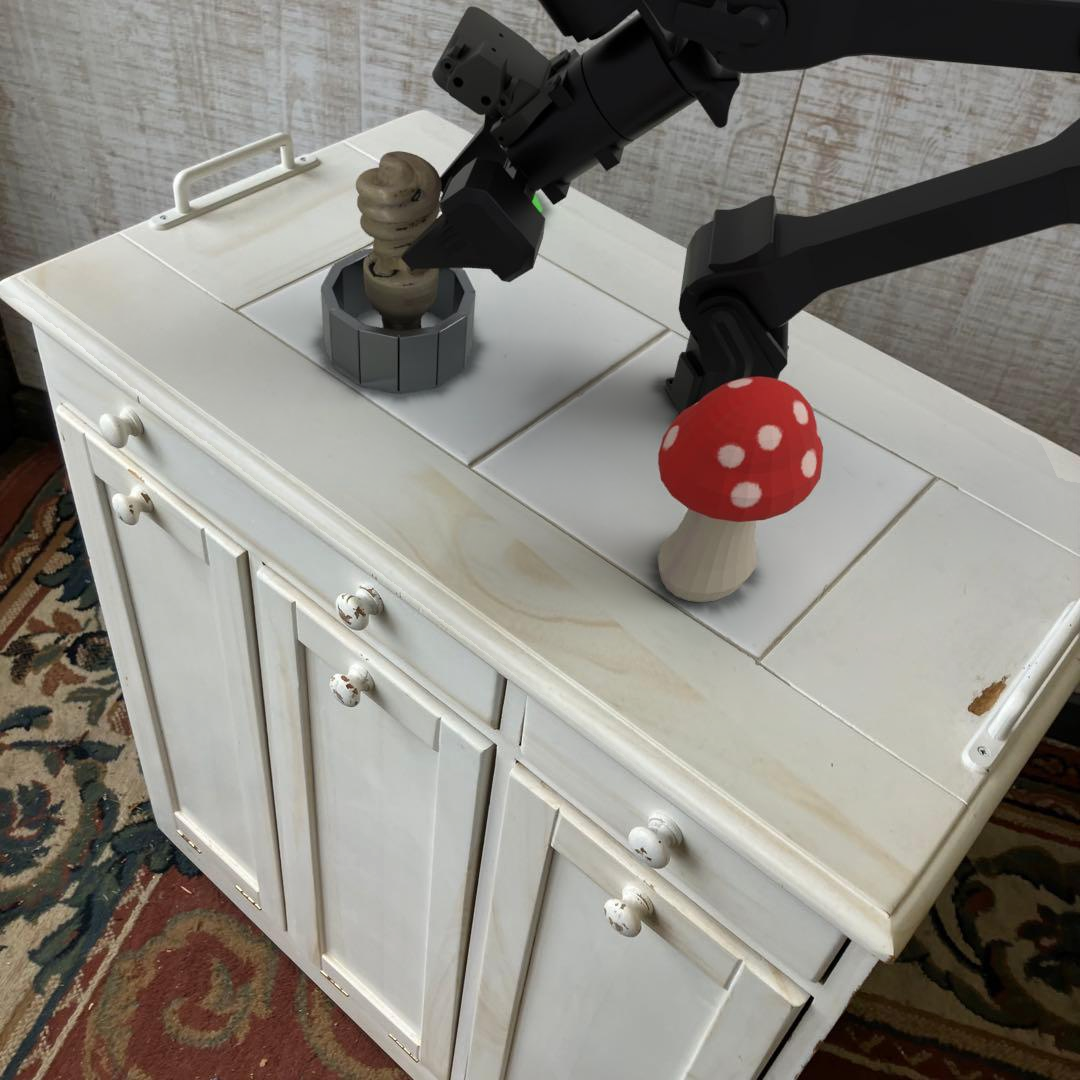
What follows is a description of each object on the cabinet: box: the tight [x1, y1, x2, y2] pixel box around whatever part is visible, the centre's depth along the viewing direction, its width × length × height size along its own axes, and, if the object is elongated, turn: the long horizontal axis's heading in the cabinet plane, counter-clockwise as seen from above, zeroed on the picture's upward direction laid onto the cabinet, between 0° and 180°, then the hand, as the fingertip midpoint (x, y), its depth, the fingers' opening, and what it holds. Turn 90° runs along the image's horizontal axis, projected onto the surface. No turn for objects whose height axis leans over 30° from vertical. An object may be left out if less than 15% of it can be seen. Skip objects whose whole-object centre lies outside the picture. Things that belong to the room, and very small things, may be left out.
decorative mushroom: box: [657, 377, 824, 603], centre depth 64 cm, size 10×9×15 cm
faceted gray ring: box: [320, 247, 476, 394], centre depth 79 cm, size 11×11×5 cm
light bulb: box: [355, 150, 442, 331], centre depth 75 cm, size 6×6×15 cm
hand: (424, 223), depth 73 cm, fingers open, 9 cm apart
